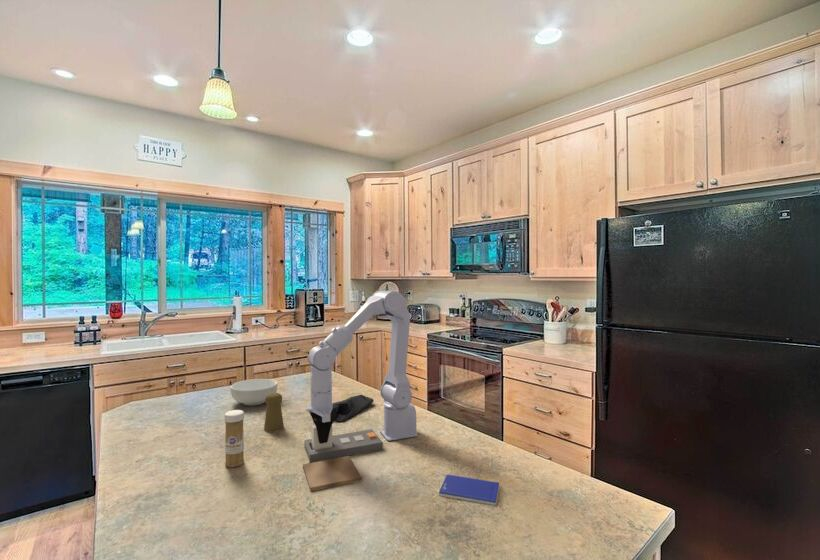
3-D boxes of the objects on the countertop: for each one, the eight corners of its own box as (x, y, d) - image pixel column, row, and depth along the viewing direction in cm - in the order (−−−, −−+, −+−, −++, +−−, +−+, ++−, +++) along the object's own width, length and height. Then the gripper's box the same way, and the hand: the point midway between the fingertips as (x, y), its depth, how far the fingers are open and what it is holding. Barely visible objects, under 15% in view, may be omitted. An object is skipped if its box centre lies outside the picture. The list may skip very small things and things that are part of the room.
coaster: (349, 458, 106) (349, 455, 106) (361, 480, 95) (361, 477, 95) (303, 467, 102) (302, 464, 102) (310, 491, 91) (310, 487, 91)
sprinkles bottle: (225, 469, 101) (224, 416, 101) (225, 461, 105) (224, 410, 105) (244, 465, 103) (244, 413, 102) (244, 458, 107) (243, 408, 107)
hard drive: (438, 491, 89) (495, 500, 85) (446, 473, 96) (499, 481, 93) (438, 498, 89) (495, 508, 85) (446, 479, 96) (499, 488, 93)
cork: (277, 432, 124) (277, 397, 124) (260, 431, 125) (259, 396, 125) (287, 425, 130) (287, 391, 130) (270, 424, 131) (270, 390, 131)
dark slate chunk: (380, 406, 149) (380, 393, 149) (339, 425, 131) (339, 411, 131) (349, 399, 158) (349, 387, 157) (306, 416, 139) (306, 402, 139)
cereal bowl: (268, 409, 145) (268, 390, 144) (222, 409, 145) (222, 390, 145) (283, 395, 162) (283, 378, 161) (242, 395, 162) (242, 378, 162)
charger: (329, 445, 113) (329, 417, 113) (332, 450, 110) (332, 421, 109) (311, 448, 111) (311, 419, 111) (313, 454, 108) (313, 424, 107)
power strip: (372, 435, 121) (372, 427, 121) (382, 449, 112) (382, 440, 112) (304, 447, 113) (304, 438, 113) (309, 462, 104) (309, 452, 104)
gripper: (302, 385, 115) (303, 431, 116) (310, 399, 102) (311, 452, 102) (327, 382, 118) (327, 428, 118) (338, 396, 105) (338, 447, 105)
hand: (321, 439), depth 110 cm, fingers closed on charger, 4 cm apart
